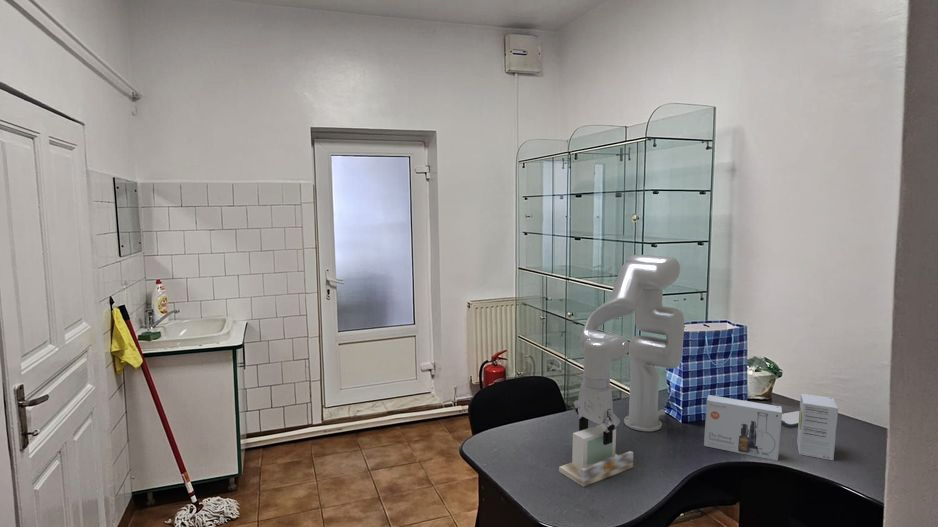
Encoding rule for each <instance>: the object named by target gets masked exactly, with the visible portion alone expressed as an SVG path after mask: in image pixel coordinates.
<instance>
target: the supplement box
mask: <svg viewBox="0 0 938 527" xmlns="http://www.w3.org/2000/svg"><path fill="white" fill-rule="evenodd" d="M799 401H800V402H799V411H800V412H799V424H798V427H797V438H796V444H797V449H798V454H799V455H801V456H807V457H813V458H818V459H822V460H823V459H824V460H829V461H834V460H835V458H834V457H835V448H836V447H835V446H836V434H837V432H836V431H837V426H838V418H839V417H838V415H839V407H838V405H837V403H836V400H835V398H834V397H829V396H822V395H815V394H807V393H800V400H799Z"/></svg>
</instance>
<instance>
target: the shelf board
mask: <svg viewBox="0 0 938 527" xmlns="http://www.w3.org/2000/svg"><path fill="white" fill-rule="evenodd" d="M633 467H634V452H633V451H631V450H629V451H627V452H624V453H623V452H622V453H620V454H617V453H615V457H612V458H609V459H607V460H604V461H601V462H598V463H596V464H593V465H590V466H588V467H585V468H582V469H581V471H580V470H578V469H577V468H575V467H573V466H572V461H571V462H569V463H566V464H563V465H560V466H559V467H558V472H559V473H560V474H562V475H564V476H565V477H567V478H569V479H570V480H572V481H573V482H575V483H576V484H578V485H580V486H581V487H587V486H589V485H592V484H594V483H596V482H600V481H602V480H605V479H607V478H609V477H613V476H615V475H617V474H620V473H623V472H625V471H627V470H631V469H632V468H633Z"/></svg>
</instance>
